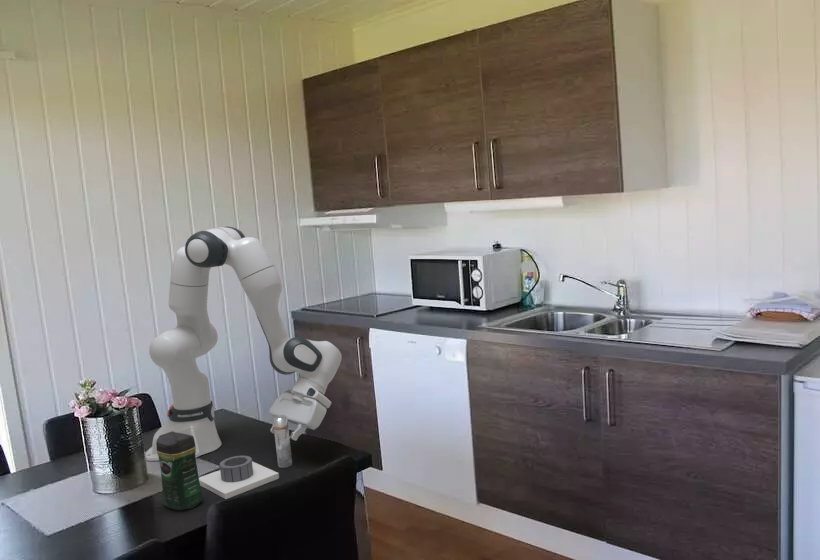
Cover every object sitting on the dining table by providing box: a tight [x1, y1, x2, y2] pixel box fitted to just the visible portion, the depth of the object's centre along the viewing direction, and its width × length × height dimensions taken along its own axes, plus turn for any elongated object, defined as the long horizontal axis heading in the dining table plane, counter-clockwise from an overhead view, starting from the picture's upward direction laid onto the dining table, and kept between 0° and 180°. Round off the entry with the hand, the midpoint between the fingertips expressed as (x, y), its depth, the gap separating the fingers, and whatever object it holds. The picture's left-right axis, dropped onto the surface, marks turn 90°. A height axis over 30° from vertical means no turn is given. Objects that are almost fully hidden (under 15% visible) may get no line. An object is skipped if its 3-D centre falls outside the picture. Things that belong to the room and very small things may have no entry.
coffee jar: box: [156, 431, 203, 511], centre depth 177 cm, size 10×8×19 cm
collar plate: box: [198, 455, 280, 500], centre depth 190 cm, size 16×16×6 cm
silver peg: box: [272, 415, 293, 469], centre depth 198 cm, size 4×4×14 cm
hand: (282, 436), depth 198 cm, fingers open, 8 cm apart
